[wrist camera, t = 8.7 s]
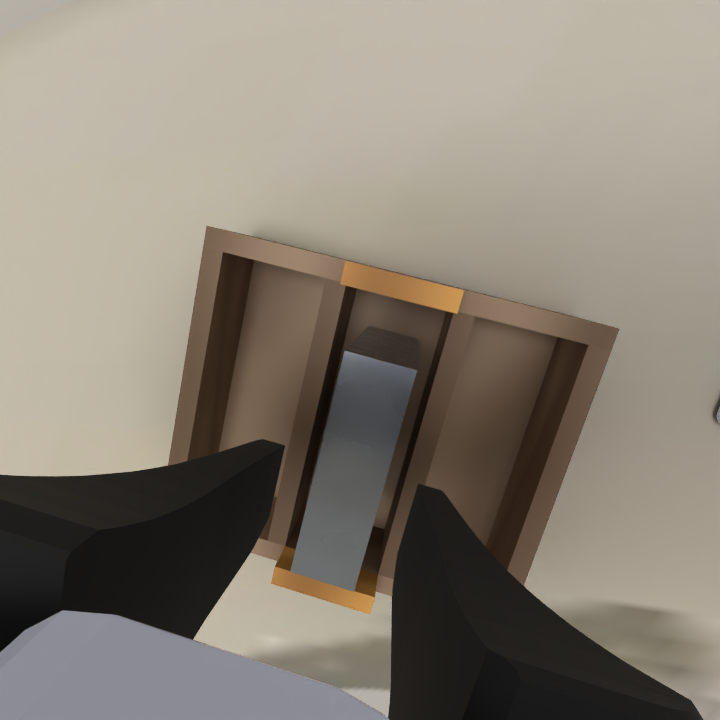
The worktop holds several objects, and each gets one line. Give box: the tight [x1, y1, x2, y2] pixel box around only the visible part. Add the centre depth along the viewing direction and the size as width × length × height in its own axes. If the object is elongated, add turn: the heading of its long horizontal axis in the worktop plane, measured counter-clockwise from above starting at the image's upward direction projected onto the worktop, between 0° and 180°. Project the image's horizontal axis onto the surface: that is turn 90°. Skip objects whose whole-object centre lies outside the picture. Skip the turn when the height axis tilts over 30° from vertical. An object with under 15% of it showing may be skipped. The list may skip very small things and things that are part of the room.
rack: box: [168, 226, 619, 614], centre depth 17 cm, size 14×11×5 cm
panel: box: [290, 326, 418, 592], centre depth 16 cm, size 2×7×6 cm, turn 166°
